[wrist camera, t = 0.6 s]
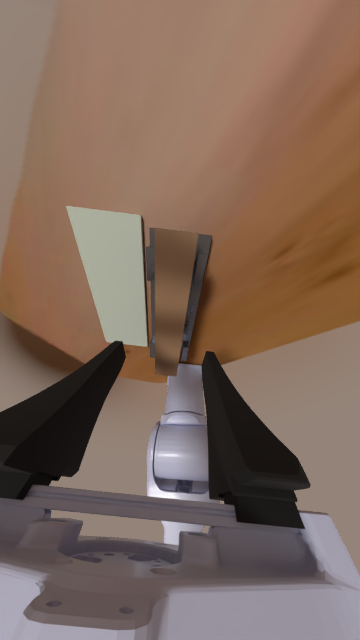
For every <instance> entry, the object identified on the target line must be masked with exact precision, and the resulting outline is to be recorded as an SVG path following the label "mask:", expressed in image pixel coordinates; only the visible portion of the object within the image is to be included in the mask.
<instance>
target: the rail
mask: <svg viewBox="0 0 360 640" xmlns="http://www.w3.org/2000/svg"><path fill="white" fill-rule="evenodd" d="M198 234H199V233H191V232H183V231H176V230H168V229H160V228H155V374H157V375H166V376H175V377H177V370H178V364H179V357H180V351H181V344H182V338H183V331H184V325H185V318H186V312H187V305H188V299H189V293H190V286H191V280H192V273H193V267H194V260H195V254H196V247H197V241H198Z"/></svg>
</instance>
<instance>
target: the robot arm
mask: <svg viewBox="0 0 360 640" xmlns="http://www.w3.org/2000/svg"><path fill="white" fill-rule="evenodd" d="M125 358H126V356H125V351H124V346H123V341H114V342H113V343H112V344H110V345H109V346H108V347H107V348H105V349H104V350H103V351H102V352H100V353H99V354H98V355H96V356H95V357H94V358H93V359H91V360H90V361H89V362H87V363H86V364H84V365H83V366H82V367H80V368H79V369H78V370H76V371H75V372H73V373H72V374H70V375H69V376H67V377H65V378H64V379H62V380H61V381H59V382H57V383H56V384H54V385H52V386H50V387H48V388H47V389H45V390H43V391H41V392H40V393H38V394H36V395H34V396H32V397H30V398H28V399H27V400H24V401H22V402H21V403H18V404H17V405H15V406H12V407H10V408H8V409H6V410H4V411H2V412H0V640H360V575H359V573H358V571H357V569H356V567H355V565H354V563H353V561H352V559H351V557H350V555H349V553H348V551H347V549H346V547H345V545H344V543H343V541H342V539H341V537H340V535H339V533H338V531H337V529H336V527H335V525H334V523H333V521H332V519H331V517H330V516H329V515H328V514H327V513H321V512H312V511H299V510H298V509H297V506H296V504H295V502H297V498H296V495H295V493H294V490H300V489H306V488H309V487H310V483H309V481H308V478H307V476H306V474H305V472H304V470H303V468H302V466H301V464H300V462H299V460H298V458H297V457H296V456H295V455H294V454H293V453H292V452H291V451H290V450H289V449H288V448H287V447H286V446H285V445H284V444H283V443H282V442H281V441H280V440H278V438H277V437H276V436H275V435H274V434H273V433H272V432H271V431H270V430H269V429H268V428H267V427H266V426H265V424H264V423H263V422H262V421H261V420H260V419H259V418H258V417H257V415H256V414H255V413H254V412H253V411H252V410H251V409H250V407H249V406H248V405H247V403H246V402H245V401H244V400H243V398H242V397H241V396H240V394H239V393H238V392H237V390H236V389H235V387H234V386H233V384H232V383H231V381H230V380H229V378H228V377H227V375H226V373H225V372H224V370H223V368H222V367H221V365H220V363H219V361H218V359H217V357H216V355H215V353H214V352H209V351H206V354H205V357H204V360H203V363H202V366H201V365H192V364H183V363H179V364H178V370H177V377H175V376H168V381H167V387H168V392H167V400H166V407H165V414H164V415H162V416H161V421H158V422H157V423H156V425H155V426H154V427H153V429H152V432H151V435H150V439H149V444H148V451H147V469H148V470H147V473H148V474H147V496H139V495H131V494H121V493H111V492H101V491H92V490H82V489H72V488H63V487H54V486H49V484H50V483H51V481H52V480H55V481H58V480H59V479H60V477H61V476H66V477H72V476H73V475H74V474H76V473H77V471H78V470H79V467H80V464H81V461H82V459H83V456H84V453H85V450H86V447H87V444H88V442H89V439H90V436H91V433H92V431H93V428H94V425H95V423H96V421H97V418H98V415H99V413H100V411H101V408H102V406H103V403H104V401H105V399H106V397H107V395H108V393H109V391H110V389H111V387H112V385H113V384H114V382H115V380H116V378H117V376H118V374H119V372H120V370H121V368H122V366H123V363H124V361H125ZM202 382H203V389H204V397H205V404H206V414H207V424H206V416H205V412H204V400H203V389H202ZM220 500H221V501H224V504H220ZM50 509H51V510H61V511H71V512H80V513H90V514H100V515H110V516H120V517H129V518H139V519H149V520H159V521H161V522H162V524H163V526H164V543H159V542H153V541H146V540H137V539H128V538H115V537H97V536H79V533H80V530H81V528H82V525H83V521H81V520H75V519H69V518H51V510H50ZM205 525H208V526H211V527H210V528H209V532H208V534H206V533H202V532H201V531H202V529H203V528H204V526H205Z"/></svg>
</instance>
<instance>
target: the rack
mask: <svg viewBox="0 0 360 640" xmlns="http://www.w3.org/2000/svg"><path fill="white" fill-rule="evenodd" d="M211 239H212V236H210V235H202V234H198V241H197V247H196V254H195V260H194V267H193V273H192V280H191V286H190V293H189V299H188V305H187V312H186V318H185V325H184V331H183V338H182V344H181V348H182V352H181V361H186V358H187V354H188V349H189V346H190V341H191V336H192V331H193V327H194V322H195V317H196V312H197V307H198V302H199V297H200V293H201V288H202V283H203V278H204V273H205V268H206V263H207V258H208V254H209V249H210V244H211ZM146 262H147V280H148V281H151V313H152V338H151V341H150V357H152V358H155V228H150V246H148V247H146Z"/></svg>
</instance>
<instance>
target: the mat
mask: <svg viewBox="0 0 360 640" xmlns="http://www.w3.org/2000/svg"><path fill="white" fill-rule="evenodd" d="M66 208H67V211H68V214H69V218H70V221H71V225H72V228H73V231H74V235H75V238H76V241H77V245H78V248H79V251H80V255H81V258H82V262H83V265H84V268H85V272H86V275H87V278H88V282H89V285H90V289H91V292H92V295H93V299H94V302H95V305H96V309H97V312H98V316H99V319H100V322H101V326H102V329H103V332H104V336H105V339H106V342H111V343H113V342H114V341H123V344H129V345H137V346H146V347H147V346H148V336H147V315H146V295H145V274H144V254H143V233H142V216H141V215H134V214H127V213H119V212H111V211H103V210H95V209H87V208H80V207H72V206H66Z"/></svg>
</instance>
